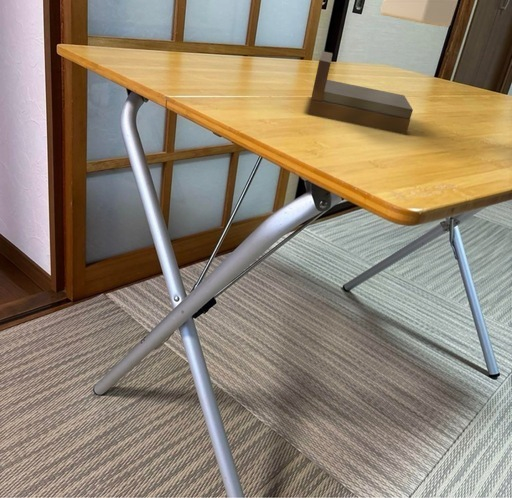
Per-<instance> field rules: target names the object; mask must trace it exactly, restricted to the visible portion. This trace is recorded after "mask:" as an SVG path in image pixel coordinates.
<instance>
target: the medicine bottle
mask: <svg viewBox="0 0 512 498" xmlns="http://www.w3.org/2000/svg"><path fill="white" fill-rule="evenodd" d="M458 1H459V0H382V4H381V7H380V12H379V13H380V15H382V16H385V17H386V16H387V17H391V18H395V19H399V20H405V21H409V22H415V23H419V24H424V25H432V26H438V27H444V28H449V27H450V26H451V24H452V20H453V17H454V14H455V11H456V8H457V5H458Z"/></svg>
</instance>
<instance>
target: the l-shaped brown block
mask: <svg viewBox="0 0 512 498" xmlns="http://www.w3.org/2000/svg"><path fill="white" fill-rule="evenodd" d="M332 59H333V52H328V51H321V55H320V57H319V59H318V64H317V69H316V73H315V79H314V83H313V86H312V92H311V96H310V102H309V106H308V110H307V115H308V116H314V117H318V118H323V119H328V120H332V121H333V120H334V121H338V122H342V123H348V124H353V125H357V126H362V127H368V128H372V129H375V130H376V129H377V130H381V131H386V132H390V133H396V134H401V135H407V132H408V129H409V126H410V123H411V118H412V114H413V111H414V109H413V107H412V106H411V104H410V102H409V101H408V99H407V97H406V96H405V95H404V94H399V93H395V92H394V93H393V92H390V91H385V90H380V89H376V88H375V89H374V88H371V87H366V86H361V85H355V84H351V83H346V82H341V81H335V80H330V79H328V76H329V73H330V69H331V63H332Z"/></svg>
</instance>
